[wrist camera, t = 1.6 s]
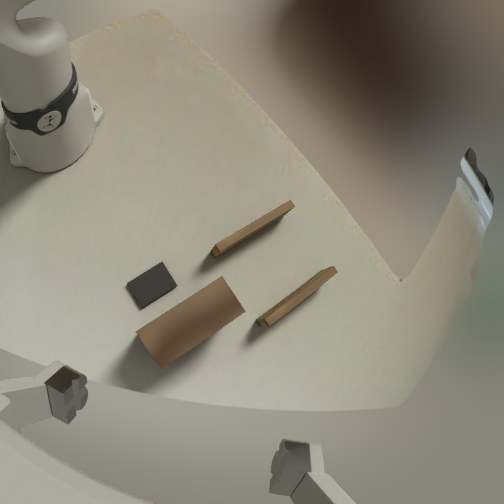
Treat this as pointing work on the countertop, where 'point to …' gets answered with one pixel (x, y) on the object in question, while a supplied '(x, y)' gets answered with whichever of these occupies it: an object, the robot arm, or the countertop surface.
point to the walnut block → (190, 322)
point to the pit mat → (152, 284)
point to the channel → (299, 293)
